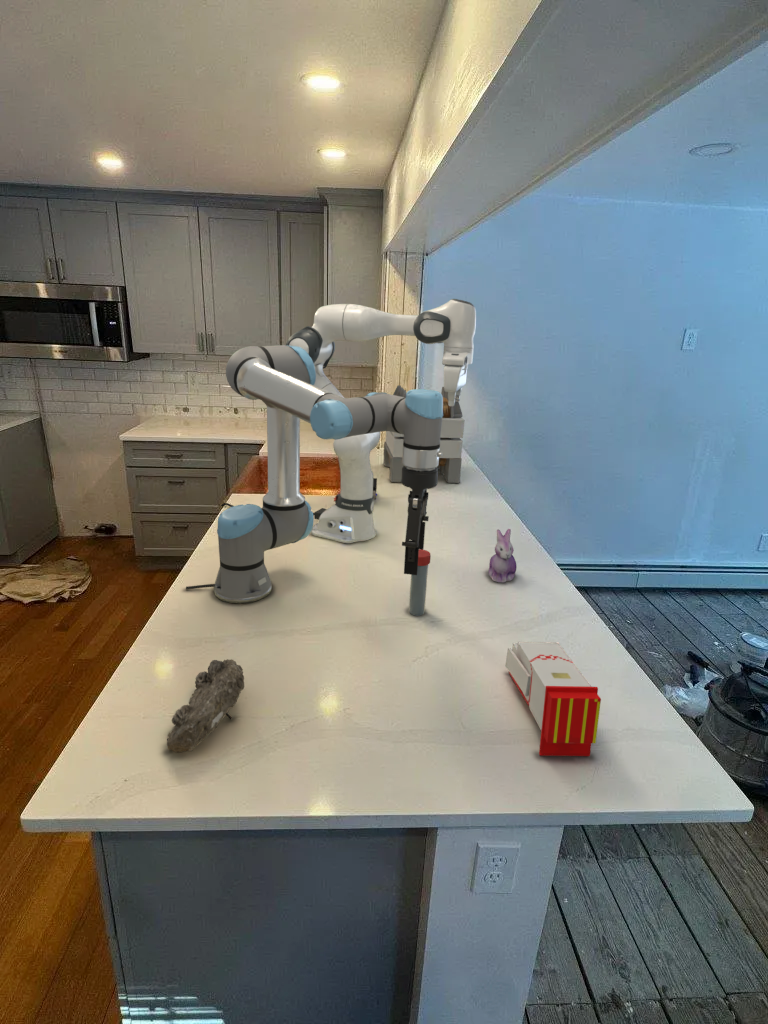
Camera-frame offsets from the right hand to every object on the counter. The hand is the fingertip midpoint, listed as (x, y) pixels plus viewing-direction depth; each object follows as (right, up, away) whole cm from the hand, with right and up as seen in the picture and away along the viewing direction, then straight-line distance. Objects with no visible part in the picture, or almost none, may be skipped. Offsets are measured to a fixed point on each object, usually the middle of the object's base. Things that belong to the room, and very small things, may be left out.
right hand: (454, 403), depth 174 cm
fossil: (-54, -72, -66) cm, 112 cm away
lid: (-12, -44, -31) cm, 55 cm away
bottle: (-13, -60, -25) cm, 66 cm away
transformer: (-4, -15, +101) cm, 102 cm away
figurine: (+14, -53, -4) cm, 55 cm away
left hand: (-15, -44, -50) cm, 68 cm away
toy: (+11, -73, -59) cm, 95 cm away
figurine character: (-28, -28, +60) cm, 72 cm away
